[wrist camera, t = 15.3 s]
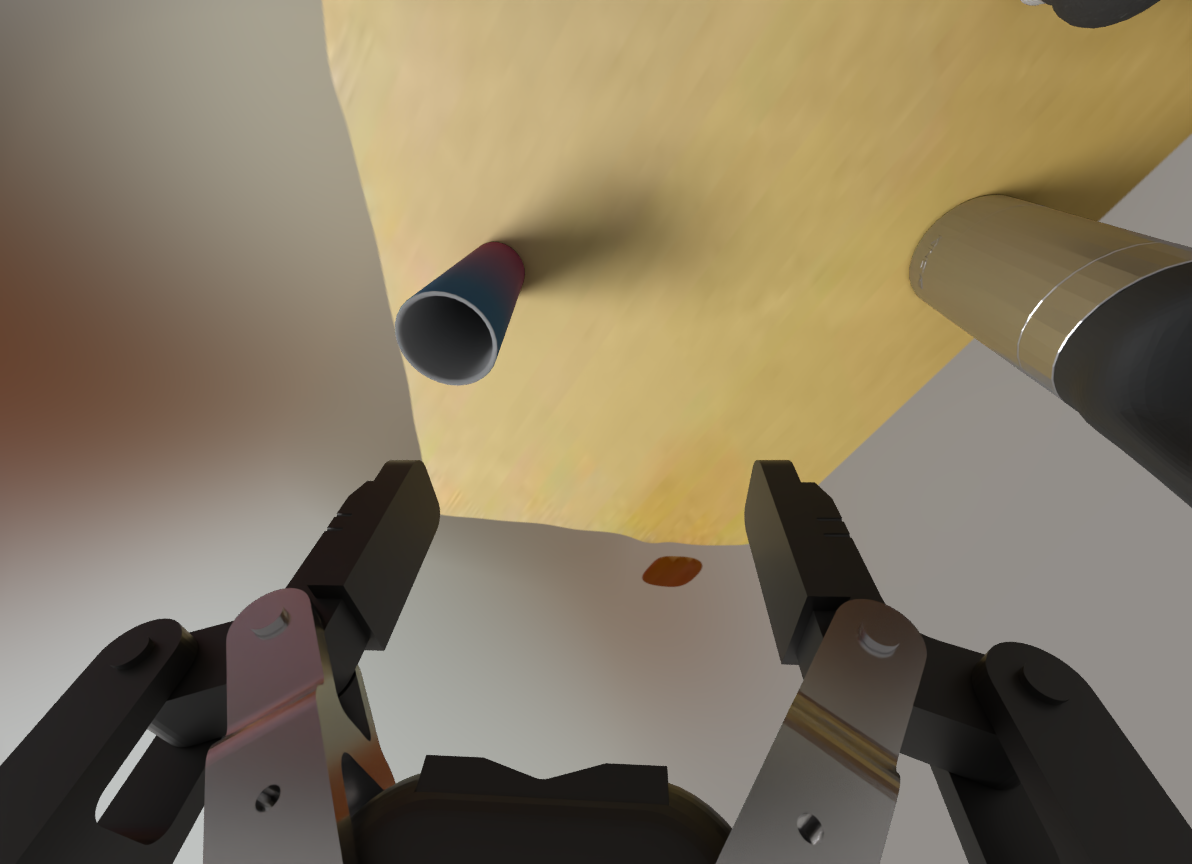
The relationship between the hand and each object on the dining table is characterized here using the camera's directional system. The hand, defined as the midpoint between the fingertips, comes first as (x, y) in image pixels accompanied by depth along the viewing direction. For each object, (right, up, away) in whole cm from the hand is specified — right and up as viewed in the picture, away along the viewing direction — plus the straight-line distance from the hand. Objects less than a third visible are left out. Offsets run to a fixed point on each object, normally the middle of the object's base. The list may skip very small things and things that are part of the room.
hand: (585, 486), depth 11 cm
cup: (-9, +16, +31) cm, 36 cm away
